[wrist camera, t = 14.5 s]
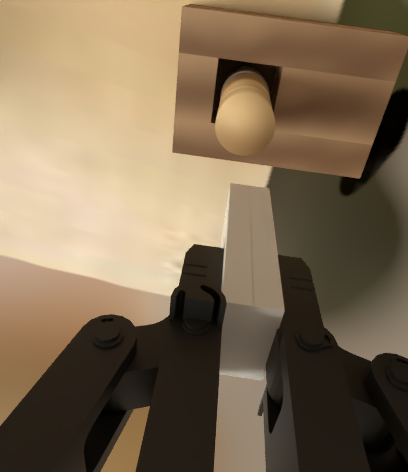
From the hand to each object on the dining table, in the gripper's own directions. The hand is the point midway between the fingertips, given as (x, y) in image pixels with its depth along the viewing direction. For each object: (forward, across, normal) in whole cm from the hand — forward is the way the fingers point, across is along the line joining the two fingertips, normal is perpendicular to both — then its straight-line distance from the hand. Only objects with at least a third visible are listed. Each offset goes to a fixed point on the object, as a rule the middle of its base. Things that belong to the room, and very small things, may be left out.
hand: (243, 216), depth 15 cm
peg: (+26, 0, 0) cm, 26 cm away
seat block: (+26, +3, 0) cm, 26 cm away
